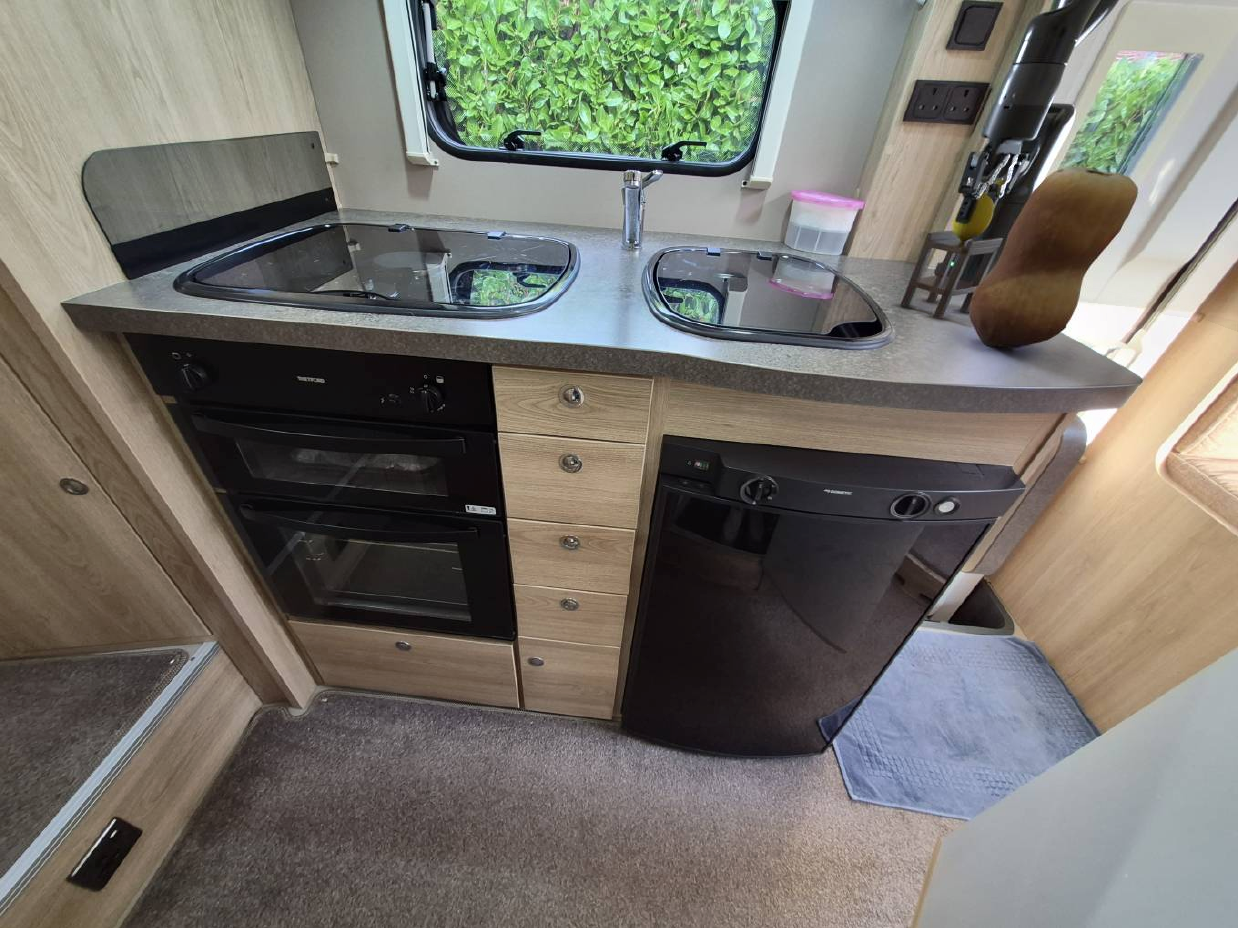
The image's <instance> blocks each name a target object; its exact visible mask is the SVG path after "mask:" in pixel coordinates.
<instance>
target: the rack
mask: <svg viewBox="0 0 1238 928" xmlns="http://www.w3.org/2000/svg"><path fill="white" fill-rule="evenodd" d="M1002 240H1003V238H992V239H984V240H975V241H974V240H970V239H969V240H968V241H966V242H964V243H962V242H960V239H959V238H958V237H957V236H956V235H955V234H954V232H953V229H952V230H943V231H932V232H927V233H926V237H925V239H924V242H923V244H922V247H921V250H920V253H919V255H918V258H917V261H916V263H915V266H914V269H913V271H912V274H911V277H910V279H909V281H908V284H907V287H906V289H905V292H904V295H903V297H902V299H901V303H900V305H899V306H900V307H902V308H905V309H906V308H910V305H911V303H912V301H913V298H914V295H915V293H916V290H917V289H920V290H923V291H926V292H929V294H928V296H927V298H926V302H928V303H936V301H937V300H938V297H939V296H941V297H940V299H939V302H938V304H937V306H936V308H935V311H934V314H933V316H932V318H935V319H937V320H940V319H943V318H944V316H945V313H946V311H947V309H948V306H949V304H950V302H951V299H952V297H955V296H962V295H965V298H964V300H963V302H962V304H961V307H960V308H959V312H960V313H964V314H967V313H969V311H970V305H971V300H970V299H971V298H972V296H973V293H974V291H975V290H976V288H977V287H978V285H979V284H980V283H981V281H982V280H983V279H984V278H985V276H986V274H987V272H988V270H989V268H990V266H991V264H992V261H993V259H994V257H995V255H996V253H997V251H998V249H999V246H1000V244H1001V242H1002ZM933 249H935V250H940V251H943V252H945V254H944V257H943V259H942V261H941V262H942V265H941V267H940V270H939V272H938V274H937V276H935V275H932V276H926V277H922V275H923V273H924V270H925V267H926V265H927V262H928V260H929V257H930V255H931V253H932V250H933ZM983 253H986V254H985V256H984V258H983V261H982V263H981V265H980V267H979V269H978V272H977V274H976V276H975V278H974V280H973V283H969V282H965V281H961V280H959V279H960V277H961V275H962V272H963V270H964V268H965V265H966V263H967V261H968V259H969V256H970V255H976V254H983ZM955 254H960V255H959V257H958V259H957V262H956V264H955V266H954V269H953V271H952V273H951V276H950V277H946V276H947V273H948V271H949V268H950V266H951V264H952V261H953V259H954V257H955Z"/></svg>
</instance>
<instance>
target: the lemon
mask: <svg viewBox="0 0 1238 928" xmlns="http://www.w3.org/2000/svg"><path fill="white" fill-rule="evenodd" d="M978 200H979V201H978V203H977V206H976V208H975V211H974V213H973V215H972V218H971V220H970V222H969V223H965V224H963V223H958V222H956V221H955V218H956V216H957V214H958V211H959V209H960V207H959V208H958V210H957V212H956V213H955V215H954V218H953V220H952V230H953V232H954V234H955V235H956V236H957V237H958V238H959V239H960V242H962V243H964V242H966V241H968V240H969V239H972V238H975V237H977V236H979V235H980V234H982V233H983V232H984V231H985V230H986V228H987V227H988V225H989V224H990V222H991V219H992V216H993V213H994V203H993V201H992V199H991V198H990V197H989V196H987V195H986V193H984V192H983V193H982V194H981V196H980V197H979V199H978Z"/></svg>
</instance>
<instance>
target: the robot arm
mask: <svg viewBox="0 0 1238 928" xmlns="http://www.w3.org/2000/svg"><path fill="white" fill-rule="evenodd" d="M1119 1H1120V0H1052V2H1051V4H1050V7H1049V10H1048V11H1044V12H1041V13H1038V14H1035V16H1033V17H1032V18H1030V20H1029V21H1028V23H1027V25H1026V26H1025V28H1024V29H1023V33H1022V35H1021V38H1020V41H1019V43H1018V45H1017V48H1016V50H1015V52H1014V55H1013V57H1012V60H1011V63H1010V65H1009V68H1008V70H1007V72H1006V74H1005V75H1004V78H1003V79H1002V81H1001V84H1000V86H999V88H998V91H997V93H996V95H995V98H994V101H993V103H992V106H991V109H990V111H989V113H988V116H987V119H986V120H985V123H984V126H983V128H982V131H981V133H980V136H981V137H982V138H983V139H987V141H986V143H985V145H984V146H983V148H982V150H981V151H971V152H970V153H969V154H968V156H967V160H966V163H965V166H964V170H963V173H962V176H961V179H960V181H959V182H960V183H959V186H958V189H957V194H961V196H962V197H963V199H962V201H961V204H960V206H959V208H960V209H959V208H958V210H959V211H958V210H957V211H958V214H957V216H956V218H955V217H954V218H955V221H956V222H958V223H963V224H965V223H969V222H970V220H971V218H972V215H973V213H974V211H975V208H976V206H977V203H978V201H979V200H978V199H979V197H980V196H981V194H982V193H983V192H984V193H986V195H987V196H989V197H990V198H991V199H992V201H993V203H994V213H993V216H992V219H991V222H990V224H989V225H988V227H987V228H986V230H985V231H984V232H983V233H982V234H980V235H979V236H977V237H975V238H972V239H970V240H974V241H975V240H984V239H992V238H1003V240H1002V242H1001V244H1000V246H999V249H998V251H997V253H996V255H995V257H994V259H993V261H992V264H991V266H990V268H989V270H988V272H987V274H986V276H987V275H988V273H989V272H990V271H991V270H992V269H993V268H994V266H995V265H996V263H997V261H998V259H999V257H1000V256H1001V254H1002V251H1003V249H1004V246H1005V243H1006V240H1007V237H1008V233H1009V232H1010V230H1011V228H1012V226H1013V224H1014V222H1015V221H1016V219H1017V218H1018V216H1019V214H1020V213H1021V211H1022V209H1023V207H1024V205H1025V204H1026V202H1027V201H1028V199H1029V198H1030V196H1031V195H1032V193H1033V192H1034V190H1035V189H1036V188H1037V187H1038V185H1039V184H1040V183H1041V182H1042V181H1043V180H1044V179H1045V178H1046V177H1047V173H1048V172H1049V170H1050V168H1051V166H1052V164H1053V162H1054V160H1055V158H1056V157H1057V155H1058V153H1059V151H1060V149H1061V147H1062V145H1063V143H1064V142H1065V140H1066V139H1067V136H1068V134H1069V132H1070V130H1071V128H1072V126H1073V124H1074V120H1075V116H1076V107H1075V105H1074V104H1072V103H1064V102H1063V103H1061V102H1053V100H1054V98H1055V96H1056V94H1057V92H1058V89H1059V87H1060V86H1061V85H1060V84H1061V82H1062V79H1063V75H1064V72H1065V70H1066V67H1067V65H1068V62H1069V60H1070V58H1071V56H1072V54H1073V51H1074V50H1075V49H1076V48H1077V47H1078V46H1079V45H1080V44H1081V43H1082V42H1083V41H1084V40H1085V39H1086V38H1088V37H1089V35H1090V34H1091V33H1093V32H1094V30H1096V28H1098V26H1100V24H1101V23H1102V22H1103V21H1104V20H1105V19H1106V18H1107V17H1108V16H1109V15H1110V14H1111V12H1112V11H1113V10H1114V9H1115V7H1116V6H1117V5H1118V3H1119ZM1026 163H1028V164H1027V165H1026V166H1025V164H1026ZM1024 166H1025V168H1024V169H1023V167H1024ZM1022 169H1023V170H1022ZM985 254H986V253H983V254H976V255H970V256H969V259H968V261H967V263H966V265H965V268H964V270H963V272H962V275H961V277H960V279H959V280H961V281H965V282H969V283H973V280H974V278H975V276H976V274H977V272H978V269H979V267H980V265H981V263H982V261H983V258H984V256H985ZM959 255H960V254H955V257H954V259H953V261H952V264H951V266H950V268H949V271H948V273H947V276H946V277H950V276H951V273H952V271H953V269H954V266H955V264H956V262H957V259H958V257H959ZM942 262H943V261H941V262H937V263H936V266H935V269H934V271H933V274H934V276H937V274H938V272H939V270H940V267H941V265H942ZM986 276H985V277H986Z"/></svg>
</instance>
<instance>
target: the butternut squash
mask: <svg viewBox="0 0 1238 928" xmlns="http://www.w3.org/2000/svg"><path fill="white" fill-rule="evenodd" d="M1138 194H1139V188H1138V186H1137V184H1136V182H1135V181H1134V180H1133V179H1132V178H1131V177H1129V176H1128V175H1124V174H1122V173H1119V172H1112V171H1111V172H1110V171H1109V172H1108V171H1107V172H1106V171H1100V170H1097V169H1092V168H1089V167H1085V166H1066V167H1065V166H1064V167H1062V168H1059V169H1057V170H1054V171H1053V172H1051V173H1050V174H1049V175H1046V176H1045V178H1044V180H1043V181H1042V182H1041V183H1040V184H1039V185H1038V187H1037V188H1036V189H1035V190H1034V192H1033V193H1032V195H1031V196H1030V198H1029V199H1028V201H1027V202H1026V204H1025V205H1024V207H1023V209H1022V211H1021V213H1020V214H1019V216H1018V218H1017V219H1016V221H1015V222H1014V224H1013V226H1012V228H1011V230H1010V232H1009V233H1008V237H1007V240H1006V243H1005V246H1004V249H1003V251H1002V254H1001V256H1000V257H999V259H998V261H997V263H996V265H995V266H994V268H993V269H992V270H991V271H990V272H989V273H988V275H987V276H986V277H985V278H984V279H983V280H982V281H981V283H980V284H979V285H978V287H977V288H976V290H975V291H974V293H973V296H972V298H971V299H970V300H971V305H970V311H969V312H968V314H969V315H968V316H969V320H970V322H971V324H972V326H973V328H974V330H975V333H976V334H977V335H976V336H978V338H979V339H980V341H981V344H982V345H985V346H990V347H1002V348H1003V347H1004V348H1015V349H1016V348H1020V347H1025V346H1031V345H1036V344H1040V343H1043V342H1046V341H1049V340H1051V339H1053V338H1055V337H1056V336H1058V335H1059V334H1060V333H1062V332H1063V331H1064V330H1065V329H1066V328H1067V325H1068V324H1069V322H1070V321H1071V319H1072V317H1073V316H1074V314H1075V311H1076V310H1077V307H1078V303H1079V300H1080V296H1081V289H1082V285H1083V281H1084V278H1085V275H1086V274H1087V272H1088V271H1089V269H1090V268H1091V266H1092V265H1093V264H1094V263H1095V262H1096V260H1097V259H1098V258H1099V257H1100V255H1101V254H1102V253H1103V252H1104V251H1105V250H1106V248H1107V247H1109V245H1110V244H1111V243H1112V241H1113V240H1114V239H1115V238H1116V237H1117V235H1118V234H1119V233H1120V232H1121V230H1122V228H1123V226H1124V224H1125V222H1126V221H1127V219H1128V218H1129V215H1130V214H1131V211H1132V209H1133V207H1134V205H1135V203H1136V202H1137V198H1138Z"/></svg>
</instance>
